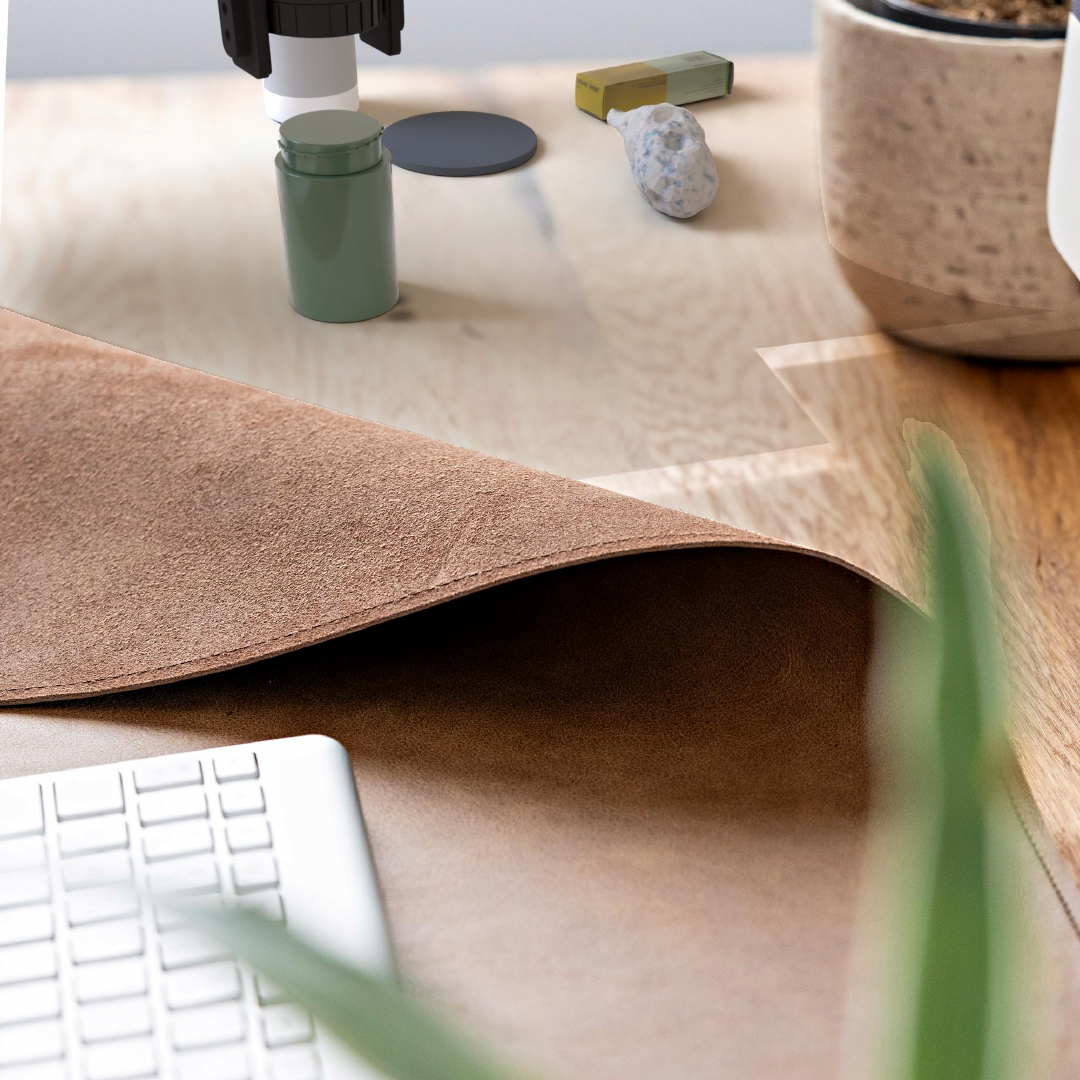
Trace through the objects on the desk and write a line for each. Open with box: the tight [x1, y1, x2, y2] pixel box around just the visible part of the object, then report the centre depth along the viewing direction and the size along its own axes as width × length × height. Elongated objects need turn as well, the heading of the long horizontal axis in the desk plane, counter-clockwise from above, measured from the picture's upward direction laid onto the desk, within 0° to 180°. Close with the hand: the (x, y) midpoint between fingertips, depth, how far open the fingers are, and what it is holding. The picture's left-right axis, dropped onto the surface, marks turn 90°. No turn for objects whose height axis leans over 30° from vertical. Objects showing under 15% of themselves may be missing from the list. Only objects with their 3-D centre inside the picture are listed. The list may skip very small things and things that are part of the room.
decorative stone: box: [606, 103, 720, 219], centre depth 83 cm, size 13×7×5 cm, turn 12°
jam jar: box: [273, 110, 400, 324], centre depth 68 cm, size 6×6×10 cm
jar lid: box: [266, 0, 383, 38], centre depth 62 cm, size 6×6×2 cm
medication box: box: [574, 50, 735, 121], centre depth 97 cm, size 12×3×4 cm
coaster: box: [382, 110, 538, 177], centre depth 90 cm, size 11×11×1 cm
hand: (317, 56), depth 63 cm, fingers closed on jar lid, 6 cm apart
